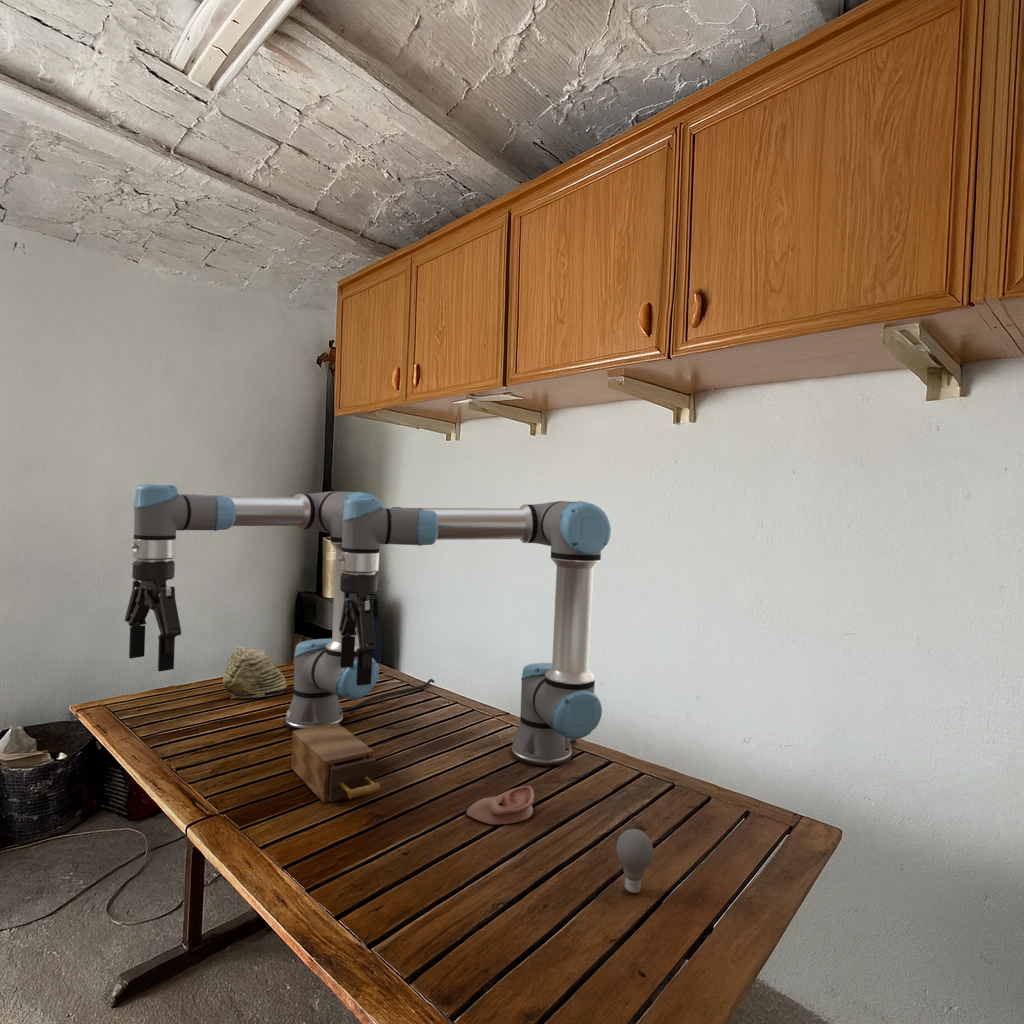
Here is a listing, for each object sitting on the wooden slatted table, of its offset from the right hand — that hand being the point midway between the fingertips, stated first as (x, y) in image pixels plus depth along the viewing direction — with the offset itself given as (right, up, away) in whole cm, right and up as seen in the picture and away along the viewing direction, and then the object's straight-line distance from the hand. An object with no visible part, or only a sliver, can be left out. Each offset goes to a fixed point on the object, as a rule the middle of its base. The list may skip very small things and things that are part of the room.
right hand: (354, 675), depth 131 cm
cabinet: (-9, -26, +12) cm, 30 cm away
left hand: (-42, +3, -1) cm, 42 cm away
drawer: (-5, -26, +7) cm, 27 cm away
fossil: (-48, -24, +68) cm, 86 cm away
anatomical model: (+30, -28, 0) cm, 41 cm away
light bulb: (+53, -30, -25) cm, 65 cm away
